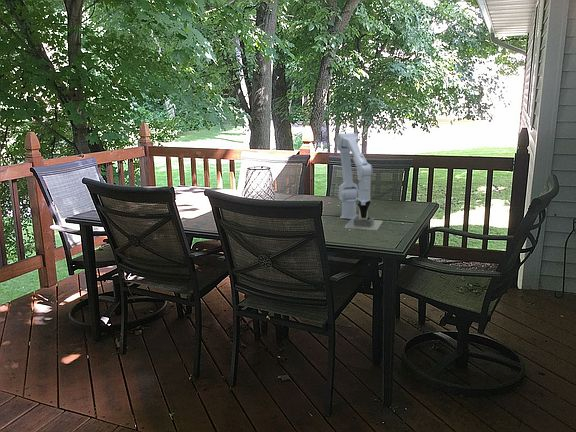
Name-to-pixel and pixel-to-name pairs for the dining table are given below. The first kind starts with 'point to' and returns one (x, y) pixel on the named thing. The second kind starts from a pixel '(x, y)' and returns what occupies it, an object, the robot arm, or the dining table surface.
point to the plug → (363, 218)
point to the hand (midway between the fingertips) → (364, 216)
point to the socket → (364, 224)
